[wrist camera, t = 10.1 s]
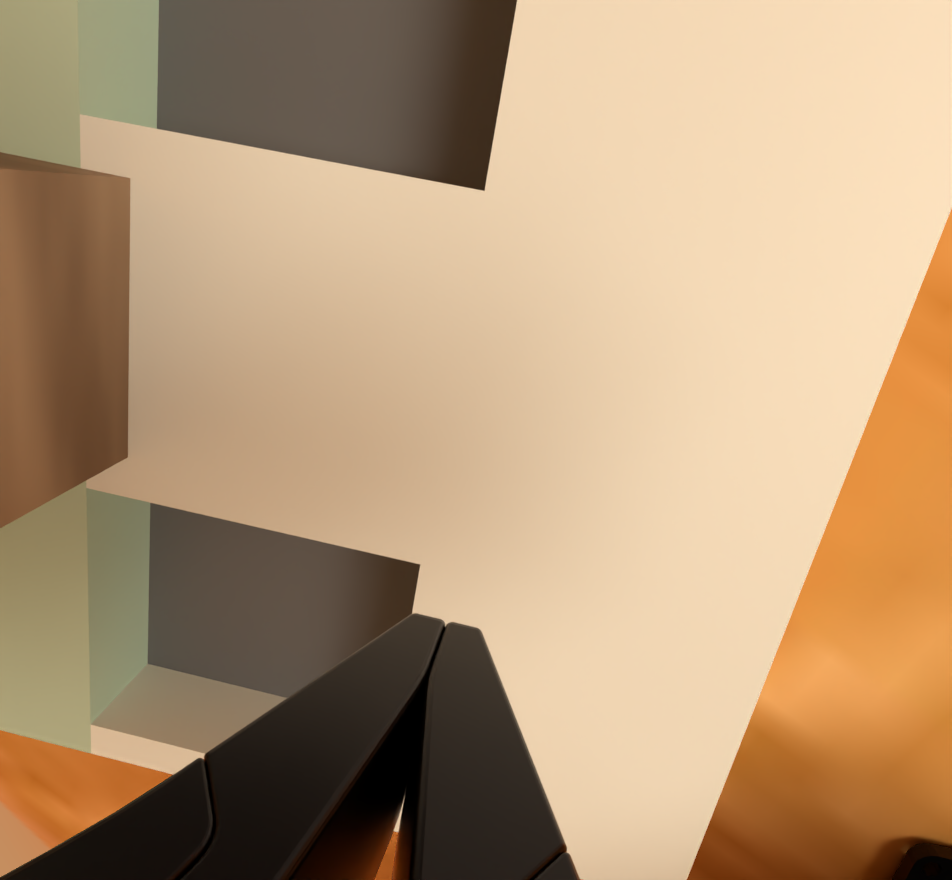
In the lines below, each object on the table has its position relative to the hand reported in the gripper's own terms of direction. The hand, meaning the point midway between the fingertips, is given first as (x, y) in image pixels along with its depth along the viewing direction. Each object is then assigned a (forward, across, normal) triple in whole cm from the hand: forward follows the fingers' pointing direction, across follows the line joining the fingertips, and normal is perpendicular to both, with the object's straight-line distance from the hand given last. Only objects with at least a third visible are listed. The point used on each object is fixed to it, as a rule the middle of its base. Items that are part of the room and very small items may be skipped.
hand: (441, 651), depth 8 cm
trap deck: (+10, +4, -1) cm, 10 cm away
